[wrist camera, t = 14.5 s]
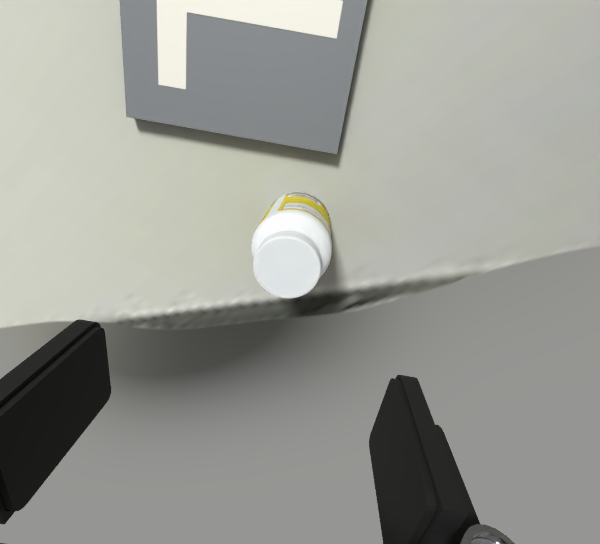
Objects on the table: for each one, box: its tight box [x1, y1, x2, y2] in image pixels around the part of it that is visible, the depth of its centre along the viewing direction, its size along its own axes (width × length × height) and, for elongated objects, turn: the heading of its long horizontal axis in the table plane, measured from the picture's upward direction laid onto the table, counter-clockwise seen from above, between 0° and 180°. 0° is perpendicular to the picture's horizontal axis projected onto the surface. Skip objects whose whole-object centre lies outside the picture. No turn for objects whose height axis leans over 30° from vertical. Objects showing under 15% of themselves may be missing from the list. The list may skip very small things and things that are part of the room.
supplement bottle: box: [251, 192, 332, 298], centre depth 23 cm, size 5×5×10 cm
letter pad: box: [120, 0, 367, 154], centre depth 21 cm, size 16×16×1 cm
